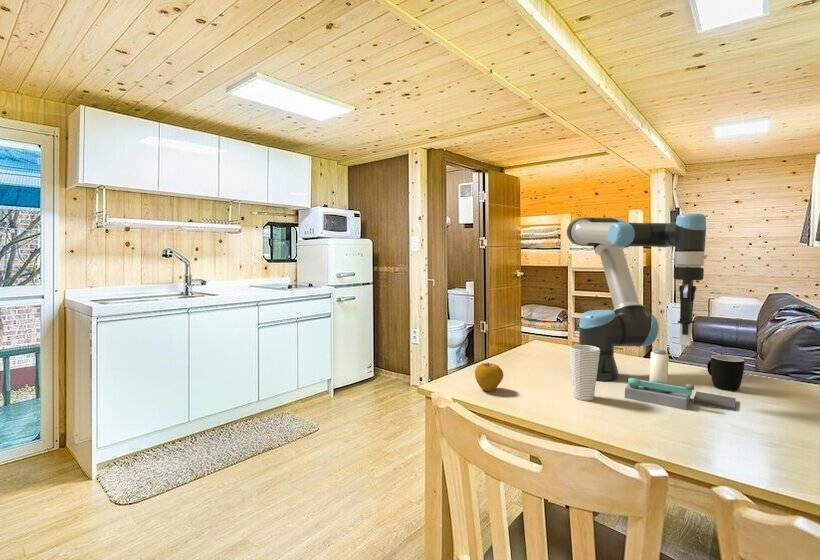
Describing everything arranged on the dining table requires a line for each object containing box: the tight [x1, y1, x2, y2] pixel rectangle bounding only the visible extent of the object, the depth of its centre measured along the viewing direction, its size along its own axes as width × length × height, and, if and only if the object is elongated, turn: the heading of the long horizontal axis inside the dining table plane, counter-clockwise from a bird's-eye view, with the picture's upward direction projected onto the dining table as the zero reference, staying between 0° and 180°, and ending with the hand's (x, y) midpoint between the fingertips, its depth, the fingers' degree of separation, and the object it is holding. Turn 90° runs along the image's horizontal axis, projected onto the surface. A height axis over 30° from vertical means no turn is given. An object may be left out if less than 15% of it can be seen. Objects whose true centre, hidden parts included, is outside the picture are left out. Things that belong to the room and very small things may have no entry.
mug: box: [706, 354, 745, 392], centre depth 146 cm, size 12×9×10 cm
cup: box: [569, 344, 600, 402], centre depth 133 cm, size 8×8×16 cm
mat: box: [692, 391, 737, 412], centre depth 131 cm, size 10×10×1 cm
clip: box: [627, 377, 695, 396], centre depth 130 cm, size 17×3×3 cm, turn 52°
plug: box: [644, 349, 670, 393], centre depth 134 cm, size 8×8×15 cm
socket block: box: [624, 383, 692, 411], centre depth 134 cm, size 16×12×4 cm
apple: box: [474, 362, 504, 392], centre depth 140 cm, size 9×9×9 cm
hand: (684, 344), depth 131 cm, fingers closed
